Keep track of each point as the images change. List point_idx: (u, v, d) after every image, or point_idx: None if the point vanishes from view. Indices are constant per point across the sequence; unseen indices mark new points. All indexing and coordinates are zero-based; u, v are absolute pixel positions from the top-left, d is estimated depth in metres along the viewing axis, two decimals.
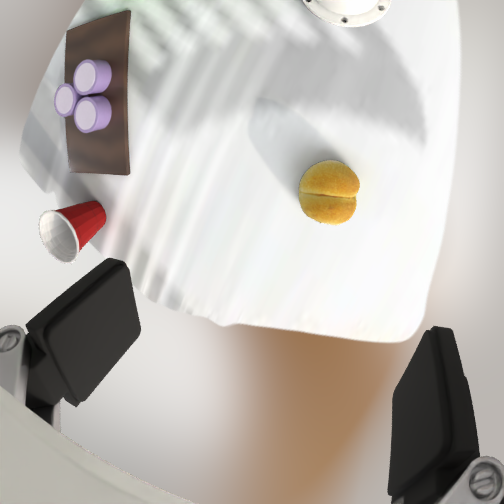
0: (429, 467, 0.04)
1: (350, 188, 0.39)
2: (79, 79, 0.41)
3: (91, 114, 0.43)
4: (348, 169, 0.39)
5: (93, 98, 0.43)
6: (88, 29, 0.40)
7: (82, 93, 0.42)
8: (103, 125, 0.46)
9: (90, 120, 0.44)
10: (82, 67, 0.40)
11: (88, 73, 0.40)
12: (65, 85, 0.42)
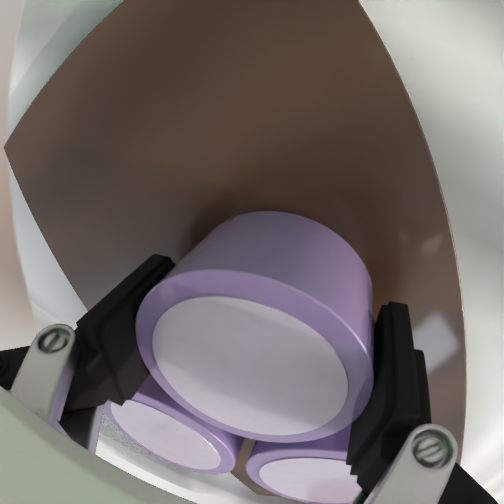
0: (376, 432, 0.05)
1: None
2: (200, 386, 0.08)
3: None
4: None
5: None
6: (77, 86, 0.09)
7: (267, 438, 0.09)
8: None
9: None
10: (187, 329, 0.07)
11: (266, 363, 0.07)
12: None
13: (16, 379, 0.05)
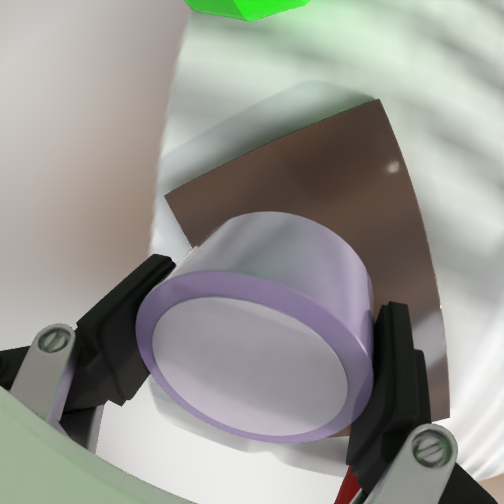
0: (376, 432, 0.05)
1: None
2: (200, 386, 0.08)
3: None
4: None
5: None
6: (251, 176, 0.20)
7: (267, 438, 0.09)
8: None
9: None
10: (187, 330, 0.07)
11: (266, 364, 0.07)
12: None
13: (16, 379, 0.05)
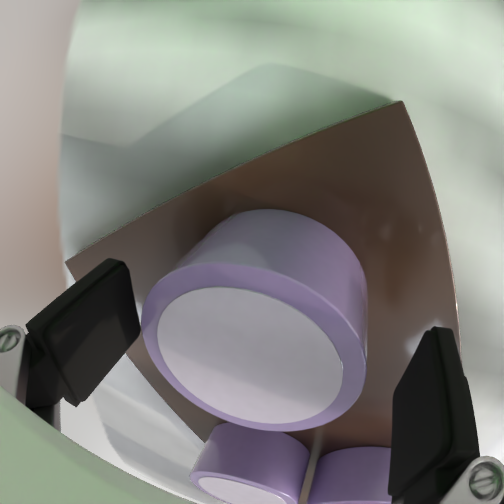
0: (429, 467, 0.04)
1: None
2: (202, 375, 0.09)
3: None
4: None
5: (379, 493, 0.11)
6: (165, 247, 0.11)
7: (266, 427, 0.09)
8: None
9: None
10: (191, 319, 0.08)
11: (265, 351, 0.07)
12: (224, 477, 0.13)
13: None
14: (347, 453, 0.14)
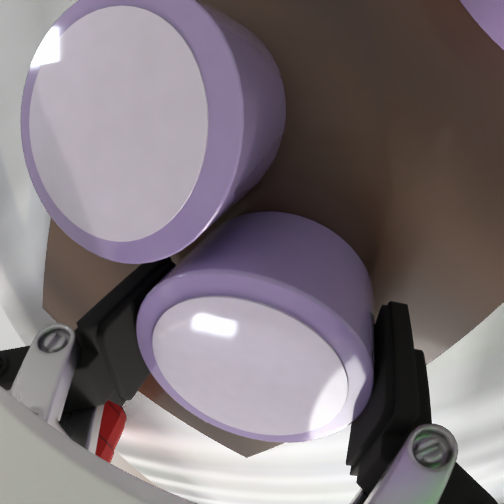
0: (376, 432, 0.05)
1: None
2: None
3: (292, 411, 0.07)
4: None
5: (371, 346, 0.06)
6: None
7: None
8: None
9: (259, 417, 0.08)
10: None
11: None
12: (169, 10, 0.04)
13: (16, 379, 0.05)
14: (328, 234, 0.08)
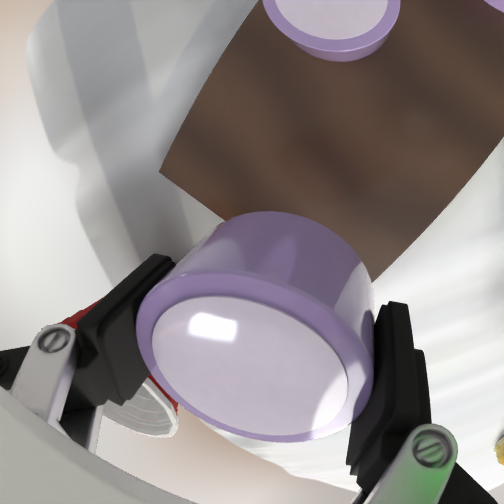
0: (376, 432, 0.05)
1: None
2: None
3: (292, 411, 0.07)
4: None
5: (371, 346, 0.06)
6: None
7: None
8: None
9: (259, 417, 0.08)
10: None
11: None
12: None
13: (16, 379, 0.05)
14: (328, 234, 0.08)
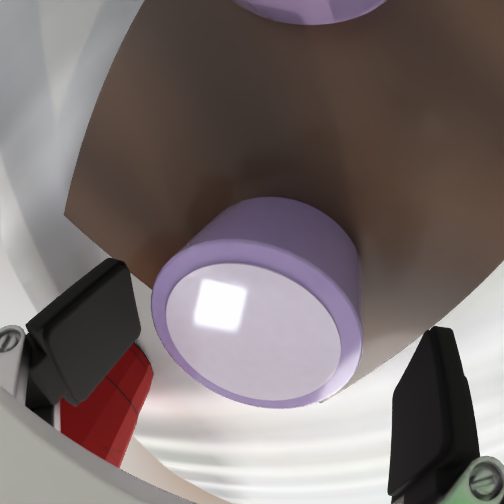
0: (429, 467, 0.04)
1: None
2: None
3: (291, 373, 0.09)
4: None
5: (359, 308, 0.08)
6: None
7: None
8: None
9: (261, 382, 0.09)
10: None
11: None
12: None
13: None
14: (321, 215, 0.10)
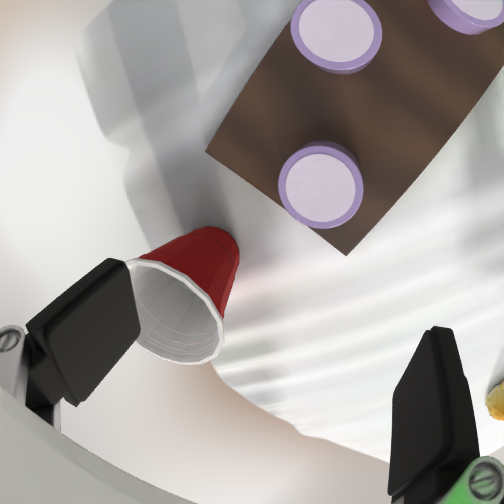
0: (429, 467, 0.04)
1: None
2: None
3: (337, 202, 0.22)
4: None
5: (360, 172, 0.21)
6: None
7: (450, 4, 0.13)
8: None
9: (324, 209, 0.23)
10: None
11: None
12: (362, 5, 0.15)
13: None
14: (343, 147, 0.23)
